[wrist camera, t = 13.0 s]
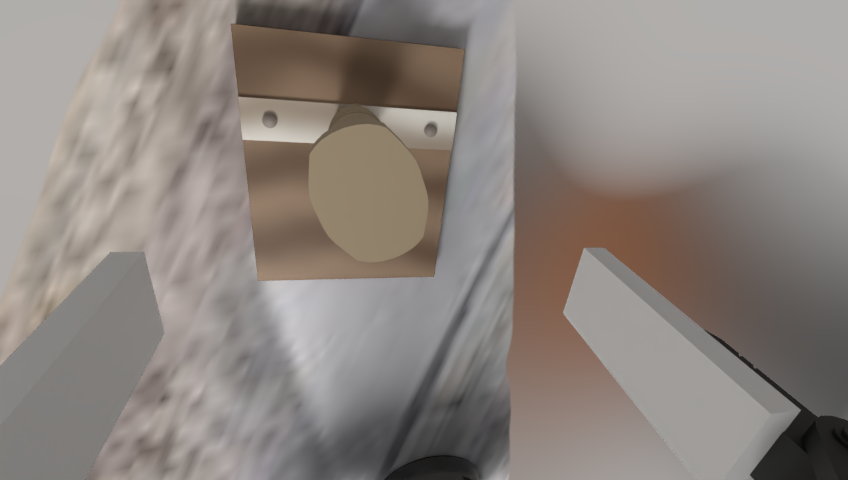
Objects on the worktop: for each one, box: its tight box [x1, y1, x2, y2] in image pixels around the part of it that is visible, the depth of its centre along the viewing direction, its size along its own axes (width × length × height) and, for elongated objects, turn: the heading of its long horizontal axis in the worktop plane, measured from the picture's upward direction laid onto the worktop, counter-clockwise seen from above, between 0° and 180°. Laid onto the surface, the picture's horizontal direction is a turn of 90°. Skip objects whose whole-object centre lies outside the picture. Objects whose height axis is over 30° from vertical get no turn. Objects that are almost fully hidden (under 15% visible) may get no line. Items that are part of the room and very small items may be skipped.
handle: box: [308, 103, 428, 262], centre depth 24 cm, size 5×6×15 cm
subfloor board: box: [231, 24, 465, 281], centre depth 33 cm, size 20×16×2 cm
